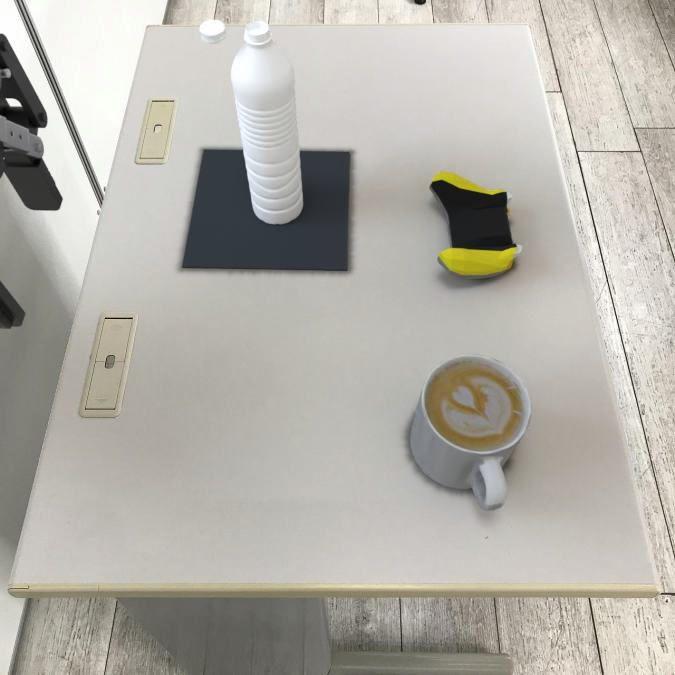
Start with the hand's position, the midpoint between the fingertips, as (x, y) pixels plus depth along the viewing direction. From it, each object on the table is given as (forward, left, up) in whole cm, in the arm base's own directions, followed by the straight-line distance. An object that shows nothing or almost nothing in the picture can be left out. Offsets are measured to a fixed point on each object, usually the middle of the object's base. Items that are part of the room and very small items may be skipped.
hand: (28, 260), depth 38 cm
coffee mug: (+28, +13, -32) cm, 45 cm away
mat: (-6, +34, -32) cm, 47 cm away
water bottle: (-6, +34, -32) cm, 47 cm away
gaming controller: (+19, +40, -32) cm, 55 cm away
